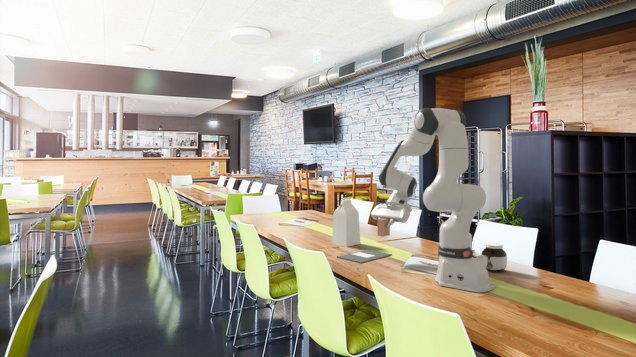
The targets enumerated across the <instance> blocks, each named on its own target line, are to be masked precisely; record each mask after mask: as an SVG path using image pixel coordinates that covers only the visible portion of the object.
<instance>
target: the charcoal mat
mask: <svg viewBox="0 0 636 357" xmlns="http://www.w3.org/2000/svg"><path fill="white" fill-rule="evenodd" d="M392 255H393V254H392V253H388V252H383V251H378V250H374V249H364V250H359V251H354V252H351V253H345V254H342V255H341V254H340V255H337V256H336V258H337V259H341V260H346V261H350V262H354V263H357V264H364V263H367V262H368V263H369V262H371V261H375V260H379V259H382V258H387V257H390V256H392Z"/></svg>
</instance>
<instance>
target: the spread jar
mask: <svg viewBox="0 0 636 357" xmlns="http://www.w3.org/2000/svg"><path fill="white" fill-rule="evenodd" d="M474 259H476V260H477V261H478V262H479V263H480V264H481V265H482V266H483V267H485V268H486V269H487V271H488V273H502V272H504V271H505V270H506V268H507V267H508V255H507V252H506V251H505V250H504V247H503V244H502V243H498V242H486V243H485V248H484V249H483V250H482V251H481V255H480V254H478V255H477V256H476V257H474Z"/></svg>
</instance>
